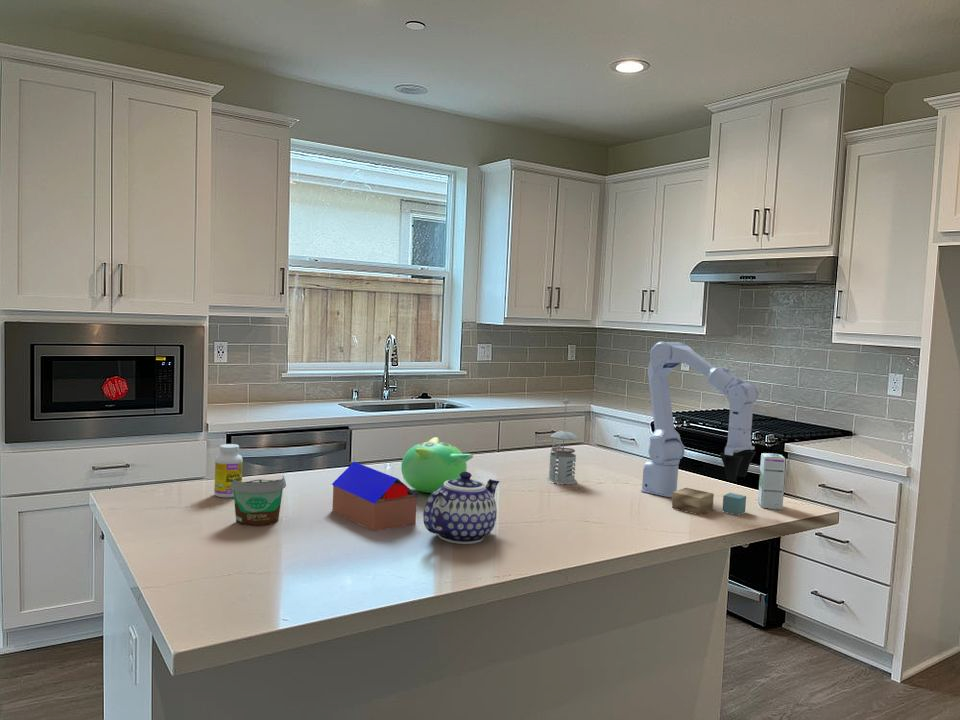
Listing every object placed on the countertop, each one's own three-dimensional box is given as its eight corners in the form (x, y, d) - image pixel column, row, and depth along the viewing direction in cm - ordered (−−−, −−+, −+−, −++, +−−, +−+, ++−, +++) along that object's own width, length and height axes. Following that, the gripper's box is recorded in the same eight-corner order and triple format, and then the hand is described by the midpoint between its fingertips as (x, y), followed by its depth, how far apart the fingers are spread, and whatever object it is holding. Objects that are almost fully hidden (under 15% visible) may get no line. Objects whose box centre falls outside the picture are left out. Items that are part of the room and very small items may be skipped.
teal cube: (722, 512, 194) (723, 495, 194) (728, 509, 197) (729, 492, 197) (739, 515, 191) (740, 498, 191) (745, 512, 195) (746, 496, 194)
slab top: (671, 501, 195) (672, 491, 195) (685, 496, 201) (686, 487, 201) (699, 507, 189) (700, 498, 189) (713, 502, 195) (713, 493, 195)
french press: (583, 481, 222) (587, 399, 220) (566, 487, 212) (571, 403, 210) (554, 475, 227) (558, 396, 225) (536, 482, 217) (541, 399, 216)
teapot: (447, 559, 147) (450, 487, 146) (397, 541, 157) (400, 473, 156) (522, 533, 166) (526, 469, 165) (474, 518, 176) (476, 458, 175)
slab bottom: (671, 510, 195) (672, 501, 195) (684, 505, 201) (685, 496, 201) (700, 517, 190) (701, 507, 189) (712, 511, 196) (713, 502, 196)
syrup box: (783, 510, 199) (787, 457, 198) (760, 508, 200) (764, 456, 199) (778, 504, 204) (782, 454, 203) (756, 502, 205) (760, 452, 204)
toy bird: (456, 483, 210) (458, 433, 209) (474, 499, 194) (476, 444, 193) (395, 485, 205) (397, 434, 204) (408, 501, 189) (410, 445, 188)
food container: (233, 530, 158) (234, 485, 157) (229, 522, 164) (230, 478, 163) (290, 525, 164) (291, 481, 163) (284, 517, 169) (285, 475, 169)
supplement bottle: (224, 499, 182) (225, 449, 181) (208, 494, 186) (210, 445, 185) (247, 495, 187) (248, 446, 186) (231, 490, 191) (233, 442, 190)
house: (372, 504, 185) (374, 459, 184) (417, 524, 170) (419, 475, 169) (330, 511, 177) (332, 464, 177) (373, 533, 162) (375, 481, 161)
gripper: (745, 433, 185) (741, 485, 185) (764, 427, 196) (760, 477, 197) (718, 429, 189) (714, 480, 190) (738, 424, 200) (734, 472, 201)
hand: (736, 478), depth 194 cm, fingers open, 7 cm apart
